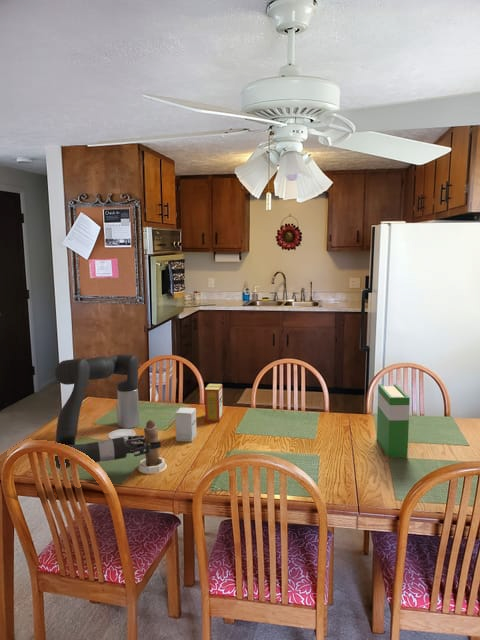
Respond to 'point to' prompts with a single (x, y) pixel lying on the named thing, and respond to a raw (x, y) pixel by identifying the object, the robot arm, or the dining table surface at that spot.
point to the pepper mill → (151, 437)
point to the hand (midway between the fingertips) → (158, 441)
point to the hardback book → (393, 420)
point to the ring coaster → (152, 467)
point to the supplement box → (185, 424)
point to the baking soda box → (213, 403)
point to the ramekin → (121, 433)
